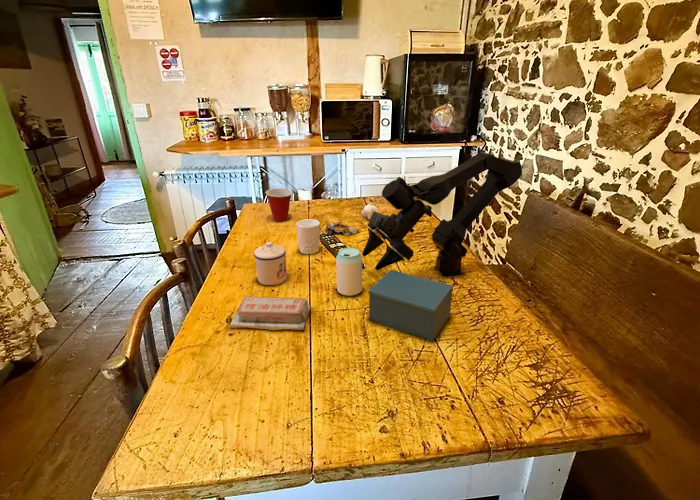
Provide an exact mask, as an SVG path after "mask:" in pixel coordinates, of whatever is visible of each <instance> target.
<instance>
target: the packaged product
mask: <svg viewBox="0 0 700 500" xmlns="http://www.w3.org/2000/svg"><path fill="white" fill-rule="evenodd" d="M308 301H309V300H308V298H301V297H279V296H278V297H275V296H252V295H251V296H247V295H246V296H244V297H242V299H241V301H240V304H239V307H238V309H237V311H236V313H235V314H234V316H233V318H232V320H231V322H230V324H229V326H230V329H233V328H249V329H262V330H268V331H269V330H270V331H280V330H297V331H298V330H300V331H303V330H304V329H305V325H306V323H307V321H308V316H309V313H310V310H311V305H310V303H309V302H308Z"/></svg>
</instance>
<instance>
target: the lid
mask: <svg viewBox="0 0 700 500" xmlns="http://www.w3.org/2000/svg"><path fill="white" fill-rule="evenodd" d="M452 289H453V290H454V285H451V284H448V283H445V282H444V283H443V282H439V281H437V280H432V279H428V278H424V277H420V276H417V275H413V274H409V273H405V272H401V271H398V270H393V269H390V270H389V271H388V272H386V273H385V275H384V276H382V277H381V278H380V279H378V281H377V282H376V283H375V284H373V286H371V287H370V288H369V289H368V290H367V293H368V295H369V294H373V295H376V296H379V297H383V298H386V299H389V300H393V301H396V302H399V303H403V304H406V305H409V306H413V307H416V308H419V309H423V310H426V311H429V312H433V313H435V312H436V310H437V309H438V308H439V306H440V305H441V304H442V302H443V301H444V300H445V298H446V297H447V296H448V294H449V293H450V291H451V290H452Z"/></svg>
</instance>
